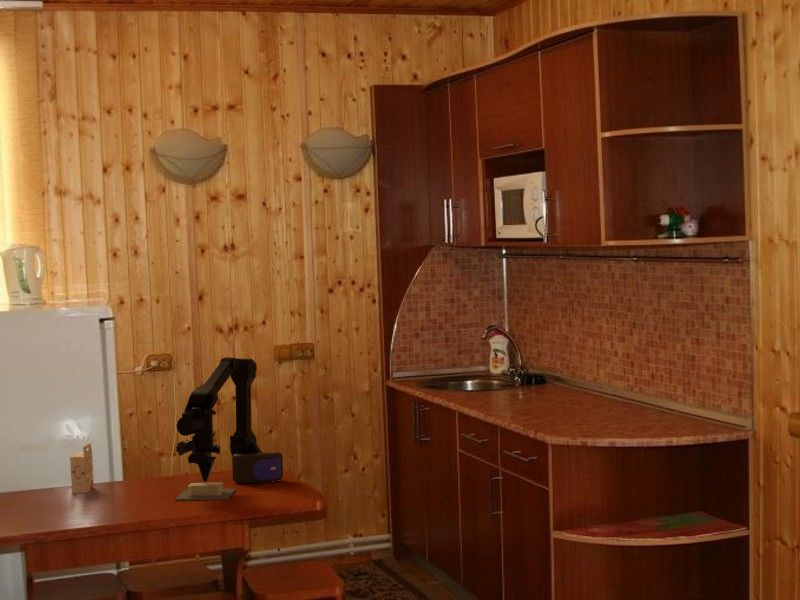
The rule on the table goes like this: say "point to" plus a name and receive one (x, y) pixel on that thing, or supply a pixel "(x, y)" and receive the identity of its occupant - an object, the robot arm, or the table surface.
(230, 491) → the mat
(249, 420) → the robot arm
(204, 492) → the block
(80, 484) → the ink cartridge box
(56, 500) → the table surface
